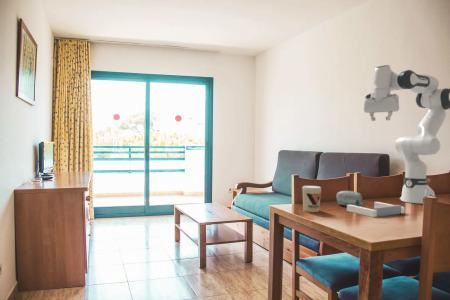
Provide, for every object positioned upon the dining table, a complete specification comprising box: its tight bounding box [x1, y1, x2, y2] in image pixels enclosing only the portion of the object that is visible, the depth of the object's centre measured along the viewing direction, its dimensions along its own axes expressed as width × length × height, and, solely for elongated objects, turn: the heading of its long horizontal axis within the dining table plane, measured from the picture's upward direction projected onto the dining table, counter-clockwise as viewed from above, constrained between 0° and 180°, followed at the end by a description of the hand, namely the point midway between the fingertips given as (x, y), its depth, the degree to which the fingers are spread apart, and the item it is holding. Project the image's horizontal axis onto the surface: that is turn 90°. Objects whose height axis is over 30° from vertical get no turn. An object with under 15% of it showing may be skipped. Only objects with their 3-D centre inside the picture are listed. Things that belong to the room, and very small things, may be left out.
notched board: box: [346, 201, 405, 218], centre depth 187 cm, size 23×16×4 cm
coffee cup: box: [301, 185, 322, 213], centre depth 187 cm, size 9×9×12 cm
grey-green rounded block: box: [336, 190, 363, 207], centre depth 202 cm, size 14×10×10 cm
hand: (380, 120), depth 204 cm, fingers open, 8 cm apart
